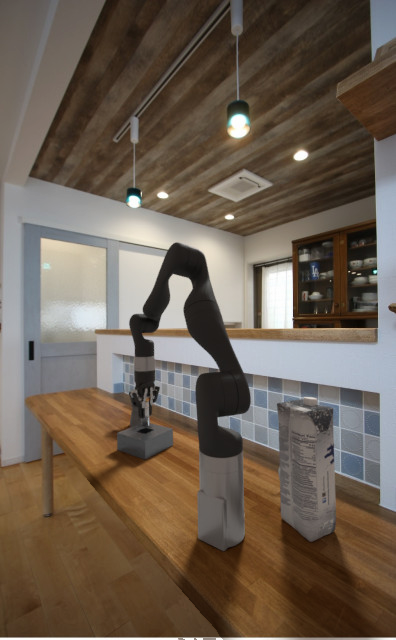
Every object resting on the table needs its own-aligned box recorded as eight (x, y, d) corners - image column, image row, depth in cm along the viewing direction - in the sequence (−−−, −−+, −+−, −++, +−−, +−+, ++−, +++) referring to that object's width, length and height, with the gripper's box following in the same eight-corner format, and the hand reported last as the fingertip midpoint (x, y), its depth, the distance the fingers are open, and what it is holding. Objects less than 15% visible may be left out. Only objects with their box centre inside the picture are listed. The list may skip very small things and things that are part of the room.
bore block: (145, 459, 95) (145, 441, 95) (117, 449, 103) (117, 432, 103) (173, 445, 106) (172, 428, 107) (145, 437, 114) (145, 422, 115)
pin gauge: (145, 427, 103) (144, 398, 103) (139, 425, 105) (139, 397, 105) (151, 424, 105) (150, 397, 106) (145, 423, 107) (145, 396, 107)
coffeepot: (123, 424, 131) (122, 383, 132) (141, 419, 138) (140, 381, 138) (141, 432, 120) (140, 388, 120) (160, 427, 126) (159, 385, 127)
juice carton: (311, 548, 56) (307, 406, 57) (274, 517, 65) (271, 395, 66) (343, 533, 60) (339, 401, 60) (304, 505, 69) (301, 391, 70)
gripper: (137, 372, 98) (138, 424, 97) (165, 367, 109) (166, 413, 109) (122, 370, 102) (123, 420, 102) (151, 365, 113) (151, 410, 113)
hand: (145, 416), depth 105 cm, fingers closed on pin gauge, 2 cm apart
